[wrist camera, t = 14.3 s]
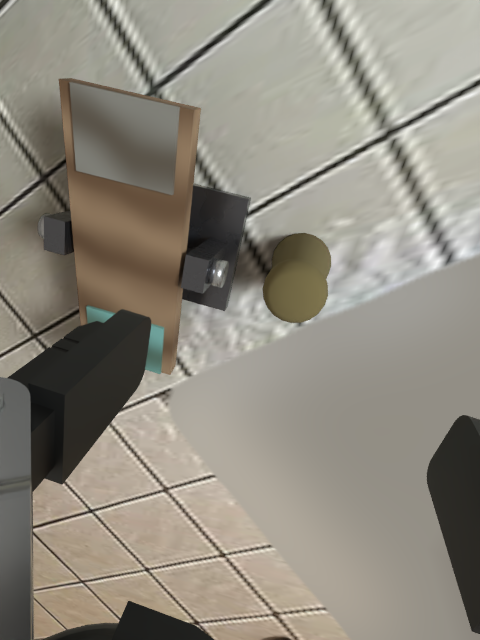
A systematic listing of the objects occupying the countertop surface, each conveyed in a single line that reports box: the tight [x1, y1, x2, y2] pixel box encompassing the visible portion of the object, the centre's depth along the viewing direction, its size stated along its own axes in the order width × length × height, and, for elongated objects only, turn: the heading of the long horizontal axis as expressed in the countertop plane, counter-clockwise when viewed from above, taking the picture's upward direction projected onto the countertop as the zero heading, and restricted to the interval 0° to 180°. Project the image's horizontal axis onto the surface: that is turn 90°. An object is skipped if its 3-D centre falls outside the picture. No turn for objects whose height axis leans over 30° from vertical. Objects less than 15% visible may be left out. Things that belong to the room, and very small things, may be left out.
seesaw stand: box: [38, 184, 251, 311], centre depth 37 cm, size 12×17×9 cm
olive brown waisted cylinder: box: [263, 233, 331, 323], centre depth 34 cm, size 6×6×11 cm
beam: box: [59, 78, 201, 375], centre depth 34 cm, size 25×10×2 cm, turn 168°
